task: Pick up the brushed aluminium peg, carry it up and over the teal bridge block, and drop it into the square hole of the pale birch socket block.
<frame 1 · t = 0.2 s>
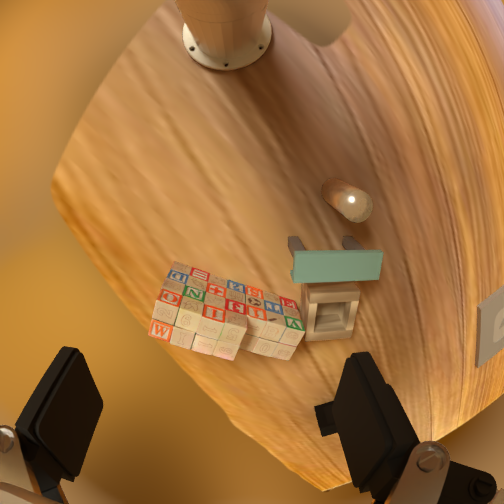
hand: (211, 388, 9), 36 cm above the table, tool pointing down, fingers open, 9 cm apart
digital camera: (335, 405, 63), on the table
socket: (323, 298, 50), on the table
teal bridge block: (320, 240, 46), on the table
peg: (333, 191, 43), on the table
stack of blocks: (230, 296, 50), on the table
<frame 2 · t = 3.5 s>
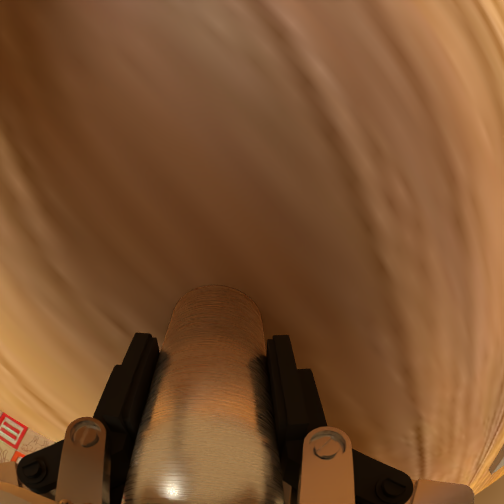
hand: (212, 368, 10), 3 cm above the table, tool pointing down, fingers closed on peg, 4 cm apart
peg: (216, 324, 13), on the table, touching gripper
stack of blocks: (73, 458, 19), on the table
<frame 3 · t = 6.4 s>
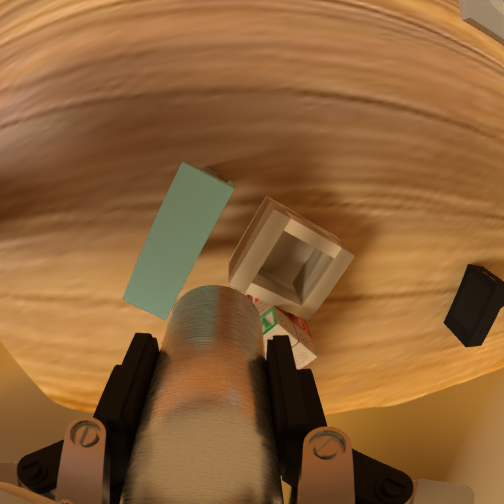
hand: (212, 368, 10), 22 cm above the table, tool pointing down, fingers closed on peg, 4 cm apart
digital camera: (465, 294, 38), on the table
socket: (283, 247, 32), on the table
teal bridge block: (189, 214, 30), on the table
peg: (215, 325, 13), point 19 cm above the table, touching gripper
stack of blocks: (221, 342, 37), on the table
when the fingers open (7 cm above the table, at t = 9.2 s): peg drops 3 cm, resting on socket.
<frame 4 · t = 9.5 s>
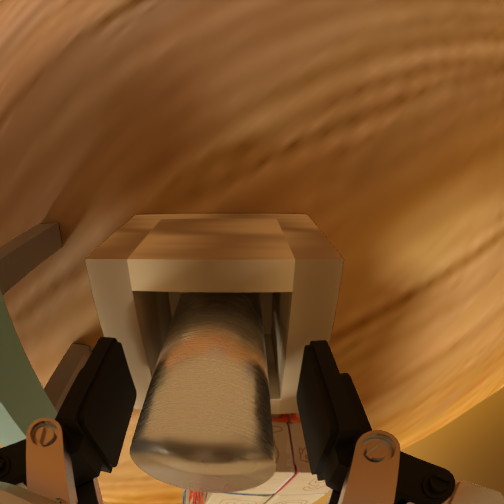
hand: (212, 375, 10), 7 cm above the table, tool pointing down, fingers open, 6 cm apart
socket: (220, 283, 17), on the table
teal bridge block: (66, 299, 17), on the table
peg: (222, 293, 16), point 1 cm above the table, touching socket
stack of blocks: (235, 430, 22), on the table
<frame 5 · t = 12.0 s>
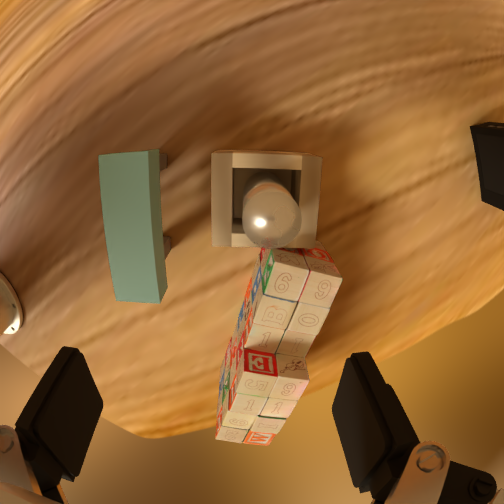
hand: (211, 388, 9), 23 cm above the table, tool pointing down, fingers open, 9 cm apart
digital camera: (488, 160, 29), on the table
socket: (261, 189, 30), on the table
teal bridge block: (161, 203, 30), on the table
peg: (263, 191, 29), point 1 cm above the table, touching socket
stack of blocks: (264, 312, 36), on the table
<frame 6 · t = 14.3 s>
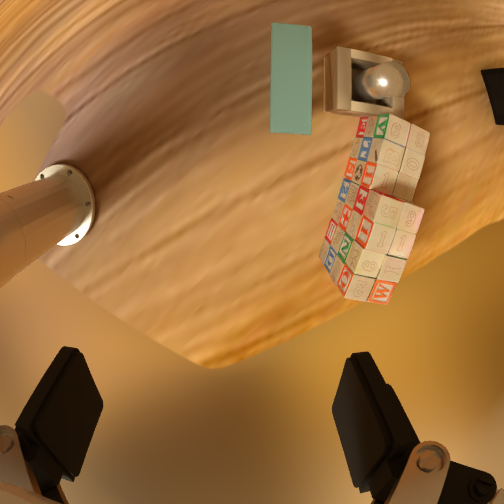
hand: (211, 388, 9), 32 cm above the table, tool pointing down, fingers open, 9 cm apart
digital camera: (495, 95, 34), on the table
socket: (354, 88, 34), on the table
teal bridge block: (278, 90, 34), on the table
peg: (358, 88, 33), point 1 cm above the table, touching socket
stack of blocks: (358, 193, 40), on the table
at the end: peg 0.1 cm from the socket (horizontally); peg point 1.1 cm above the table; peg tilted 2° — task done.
